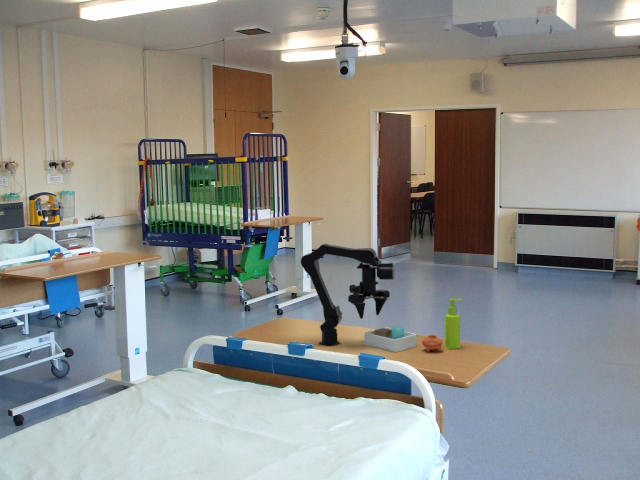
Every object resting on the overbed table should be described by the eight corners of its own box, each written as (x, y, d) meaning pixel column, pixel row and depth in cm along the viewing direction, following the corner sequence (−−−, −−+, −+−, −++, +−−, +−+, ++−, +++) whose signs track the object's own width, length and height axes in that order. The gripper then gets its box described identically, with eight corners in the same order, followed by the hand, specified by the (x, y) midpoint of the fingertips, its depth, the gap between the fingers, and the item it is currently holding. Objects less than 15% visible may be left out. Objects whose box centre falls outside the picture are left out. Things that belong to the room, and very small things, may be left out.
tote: (364, 344, 268) (364, 332, 268) (386, 338, 277) (386, 327, 276) (394, 352, 255) (394, 340, 255) (417, 346, 264) (416, 334, 263)
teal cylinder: (396, 347, 260) (397, 330, 259) (389, 344, 264) (389, 327, 263) (406, 345, 262) (406, 328, 261) (399, 342, 266) (399, 326, 266)
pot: (443, 347, 260) (443, 332, 257) (440, 357, 253) (440, 341, 251) (424, 345, 262) (423, 330, 260) (420, 355, 255) (420, 339, 253)
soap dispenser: (462, 349, 257) (462, 300, 255) (445, 348, 259) (445, 299, 257) (462, 345, 263) (462, 297, 261) (445, 345, 264) (445, 297, 262)
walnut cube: (383, 343, 265) (383, 332, 265) (375, 341, 269) (374, 329, 269) (392, 341, 269) (391, 329, 268) (383, 339, 272) (383, 327, 272)
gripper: (371, 274, 276) (372, 310, 278) (338, 279, 264) (339, 317, 266) (390, 277, 268) (390, 314, 269) (357, 282, 256) (358, 321, 257)
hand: (369, 316), depth 266 cm, fingers open, 9 cm apart
